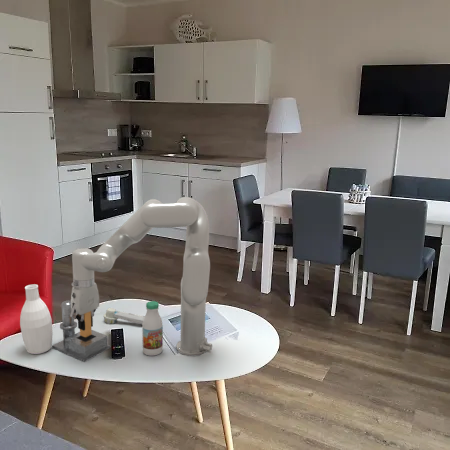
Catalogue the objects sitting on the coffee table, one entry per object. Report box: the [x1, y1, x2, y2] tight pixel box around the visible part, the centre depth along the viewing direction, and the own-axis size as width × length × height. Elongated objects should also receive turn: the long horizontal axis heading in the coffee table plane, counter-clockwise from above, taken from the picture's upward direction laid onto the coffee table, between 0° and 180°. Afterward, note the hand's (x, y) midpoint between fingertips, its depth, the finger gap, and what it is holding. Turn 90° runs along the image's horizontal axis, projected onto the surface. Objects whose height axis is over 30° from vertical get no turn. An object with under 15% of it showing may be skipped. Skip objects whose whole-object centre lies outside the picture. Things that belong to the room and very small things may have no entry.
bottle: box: [19, 283, 54, 355], centre depth 172 cm, size 11×11×25 cm
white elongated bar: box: [103, 307, 145, 325], centre depth 199 cm, size 5×7×25 cm
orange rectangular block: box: [79, 311, 92, 337], centre depth 173 cm, size 3×3×12 cm
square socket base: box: [51, 299, 111, 363], centre depth 176 cm, size 19×13×17 cm
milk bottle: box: [141, 300, 164, 357], centre depth 175 cm, size 8×8×20 cm
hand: (85, 327), depth 174 cm, fingers closed on orange rectangular block, 3 cm apart
